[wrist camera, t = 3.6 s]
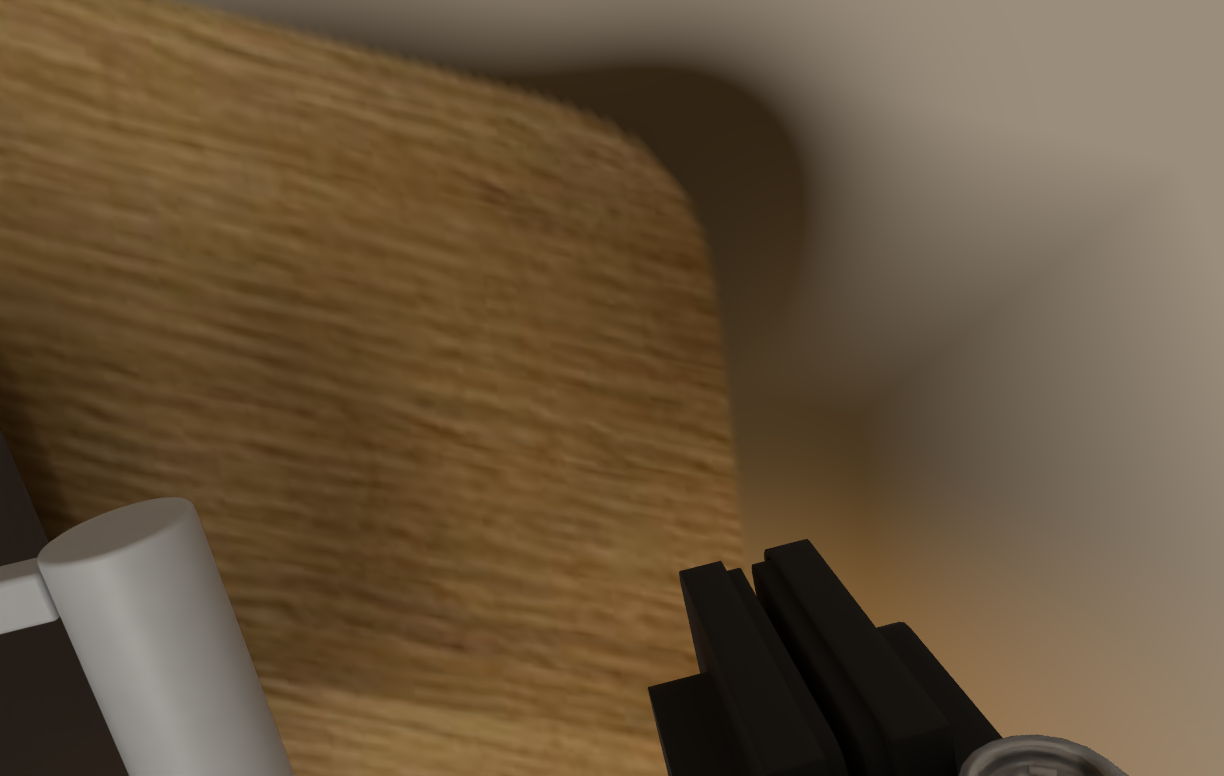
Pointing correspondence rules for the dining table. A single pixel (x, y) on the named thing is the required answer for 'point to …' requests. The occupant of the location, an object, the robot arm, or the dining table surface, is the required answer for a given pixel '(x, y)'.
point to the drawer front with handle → (123, 648)
